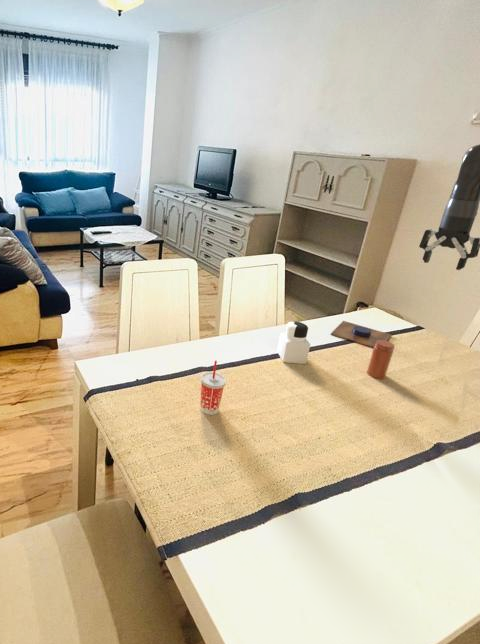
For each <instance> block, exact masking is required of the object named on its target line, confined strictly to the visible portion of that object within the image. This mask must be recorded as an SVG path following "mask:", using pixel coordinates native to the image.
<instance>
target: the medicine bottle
mask: <svg viewBox="0 0 480 644" xmlns="http://www.w3.org/2000/svg"><path fill="white" fill-rule="evenodd" d="M285 329H286V330H285V332H280V334H279V339H278V344H277V347H276V352H277V354H278V356H279V358H280V360H281V361H282V362H283V363H285V364H288V363H289V364H299V365H301V364H302V365H306V364H307V361H308V357H309V353H310V349H311V343H310V342H309V340H308V339H307V336H308V331H309V327H308V325H307V324H305V323H303V322H301V321H289V322H287V324H286V328H285Z"/></svg>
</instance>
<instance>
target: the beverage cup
mask: <svg viewBox="0 0 480 644" xmlns="http://www.w3.org/2000/svg"><path fill="white" fill-rule="evenodd" d="M217 363H218V362H217V360H214V364H213V371H207V372H203V373H202V374H201V376H200V383H201V384H200V399H199V400H200V402H199V409H200V411H201V412H202V413H204V414H205V415H210V416H215V415H216V414H218V413H219V410H220V406H221V401H222V397H223V392H224V388H225V386H226V382H227V379H226V378H225V376H224V375H222V374H220V373H218V372H216V370H217Z"/></svg>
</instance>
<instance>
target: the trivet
mask: <svg viewBox="0 0 480 644" xmlns="http://www.w3.org/2000/svg"><path fill="white" fill-rule="evenodd" d="M354 326H362V327H364V326H363V325H359V324H356V323H353V322H349V321H346V320H342V321H341V323H339V324H338V325H337V327H336V328H335V329H333V330H332V332H331V333H330V335H331V336H333V337H337V338H340V339H343V340H346V341H349V342H353V343H356V344H358V345H362V346H365V347H369V348H372V349H374V346H375V344H376V341H377V340H385V341H388V340H389V339H390V337H391V333H387V332H384V331H381V330H376V329H373V328H370V327H366V326H365V327H366V328H368V329H370V330H371V335H370V337H360V336H357V335H355V334H353V333H352V330H353V327H354Z"/></svg>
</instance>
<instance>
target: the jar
mask: <svg viewBox="0 0 480 644" xmlns="http://www.w3.org/2000/svg"><path fill="white" fill-rule="evenodd" d="M394 350H395V344H394V343H392V342H390V341H388V340H387V341H385V340H377V341H376V344H375V346H374V348H372V352H371V355H370V359H369V362H368V364H367V365H368V366H367V369H366V374H367V375H368V376H370V378H371V377H372V378H374V379H378V380H384V379H385V378H386V376H387V373H388V371H389V370H388V369H389V367H390V364H391V361H392V357H393V354H394Z"/></svg>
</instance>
